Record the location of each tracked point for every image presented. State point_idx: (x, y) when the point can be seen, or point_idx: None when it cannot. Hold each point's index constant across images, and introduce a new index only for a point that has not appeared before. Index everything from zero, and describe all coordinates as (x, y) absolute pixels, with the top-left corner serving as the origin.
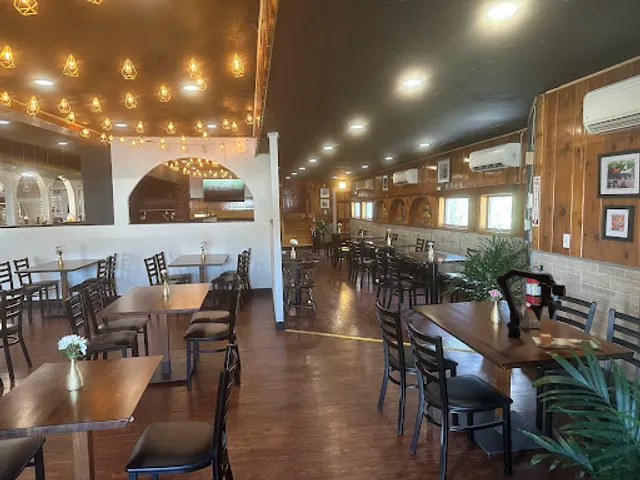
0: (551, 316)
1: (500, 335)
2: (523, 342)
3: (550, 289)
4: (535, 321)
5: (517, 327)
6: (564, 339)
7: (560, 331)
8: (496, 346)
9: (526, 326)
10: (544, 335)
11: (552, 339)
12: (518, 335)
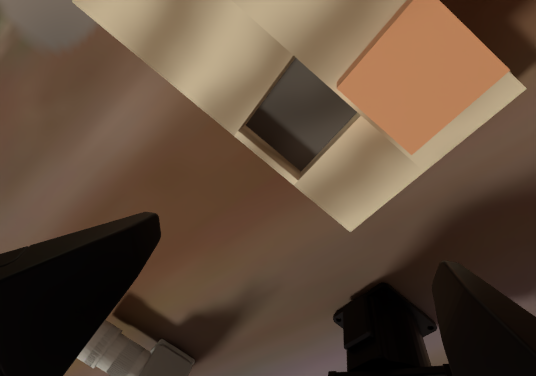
0: (116, 244)
1: None
2: (466, 216)
3: None
4: (105, 359)
5: (383, 366)
6: (173, 52)
7: (46, 230)
8: None
9: (172, 355)
10: (439, 82)
11: (247, 119)
12: (377, 304)
